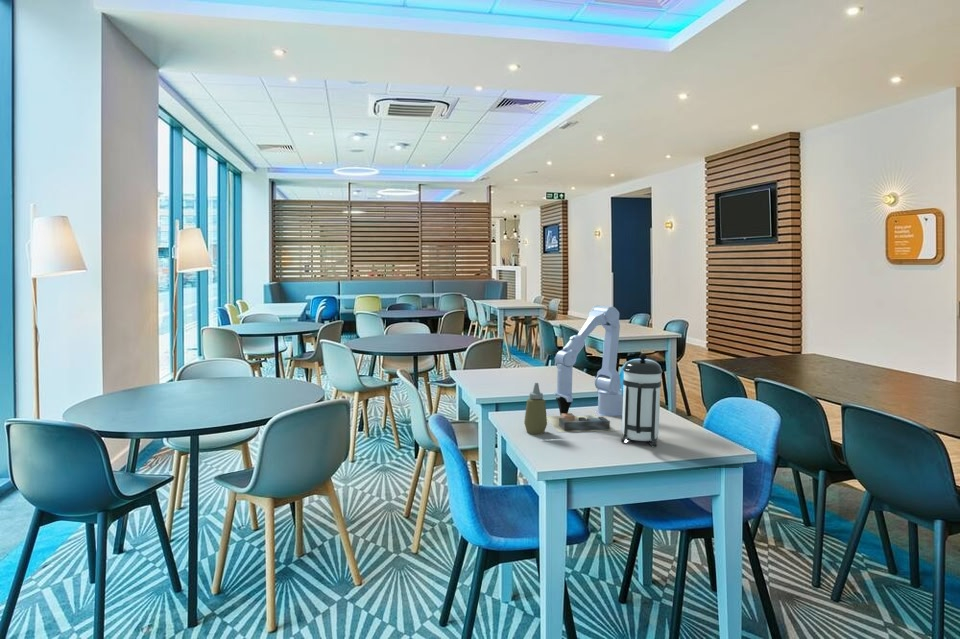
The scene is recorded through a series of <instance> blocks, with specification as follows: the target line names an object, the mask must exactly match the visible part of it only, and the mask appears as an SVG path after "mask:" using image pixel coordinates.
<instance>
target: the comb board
mask: <svg viewBox="0 0 960 639" xmlns="http://www.w3.org/2000/svg"><path fill="white" fill-rule="evenodd" d="M574 416H575V421H568V420H567V419H565V418H561V415H557V416H556V415H555V416H554V415H553V416H550V415H549V416H548V415H547V416H546V417H547V423H549V424H550V425H551V427H553V428H554V429H555V430H557V431H558V432H559V433H575V432H578V433H579V432H581V433H582V432H607V431H608V432H609V431H611V432H613V431H614V432H615V431H618V430H617V429H616V428H614V427H613V426H612V425H610V424H611V421H610V420H608V419H607V418H606V417H605V416H597V415H596V414H595V415H592V414H591V415H574ZM587 418H599V419H600V420H597V421H588V420H587Z"/></svg>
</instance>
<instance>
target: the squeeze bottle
mask: <svg viewBox="0 0 960 639" xmlns="http://www.w3.org/2000/svg"><path fill="white" fill-rule="evenodd" d="M532 390H533V391H531V392H529V398H528V399H527V400H526V406H525V414H524V426H525V430H526V433H527V434H530V435H542V434H545V430H546V428H547V426H548V421H547V417H548V416H547V406H546V400H545V399H544V394H543V392H541V390H540V386H539V383H538V382H535V383H534V386H533V389H532Z"/></svg>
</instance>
